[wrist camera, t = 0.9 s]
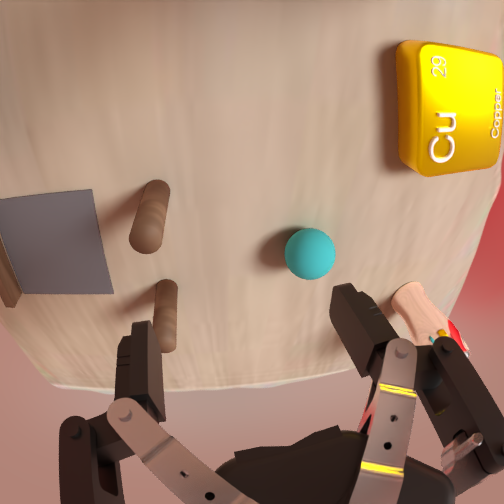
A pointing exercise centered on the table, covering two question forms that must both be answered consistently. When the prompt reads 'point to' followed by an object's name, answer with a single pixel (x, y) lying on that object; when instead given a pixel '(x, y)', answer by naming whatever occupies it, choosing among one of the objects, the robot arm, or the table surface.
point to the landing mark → (55, 243)
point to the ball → (309, 254)
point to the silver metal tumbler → (424, 317)
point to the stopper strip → (8, 281)
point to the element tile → (448, 107)
